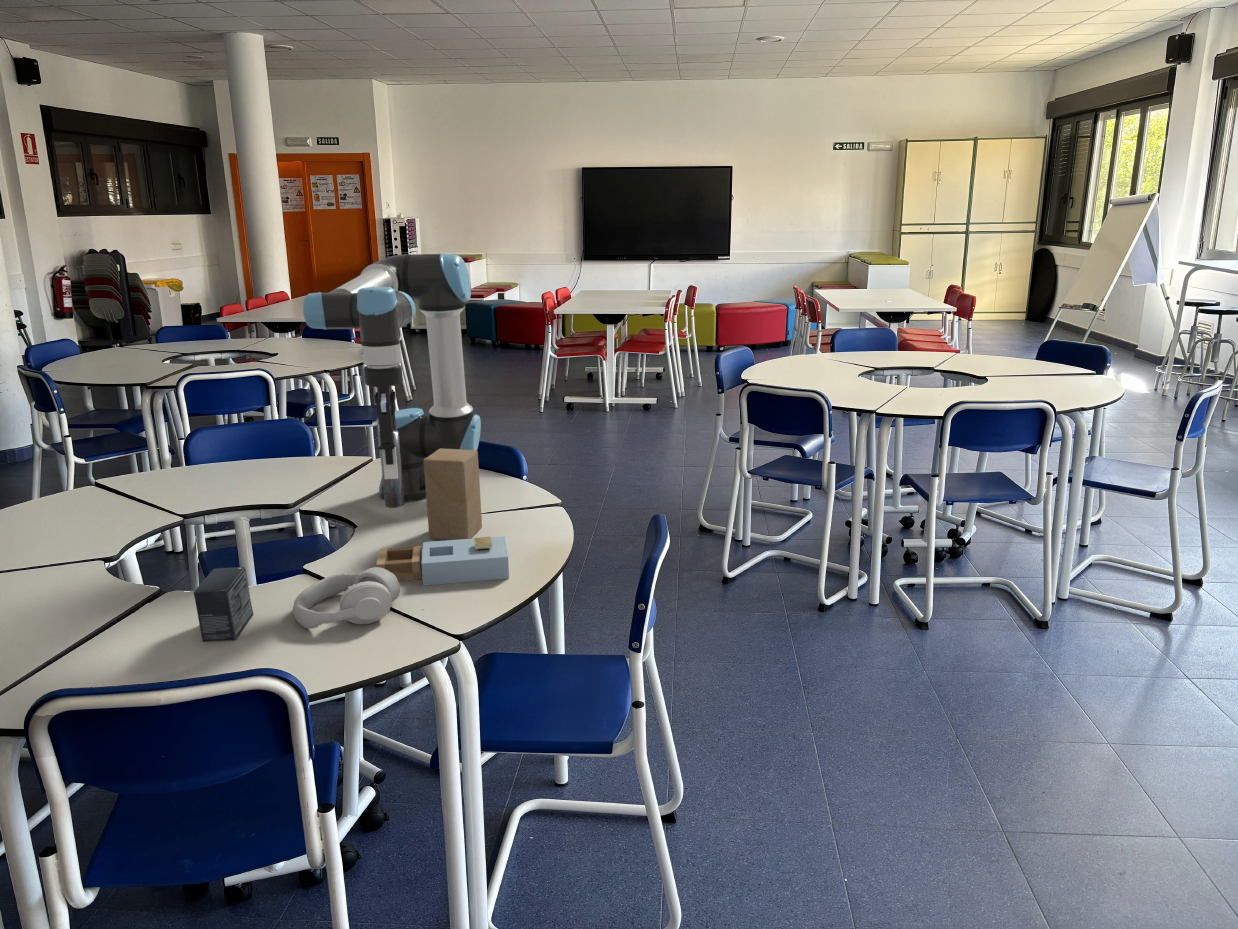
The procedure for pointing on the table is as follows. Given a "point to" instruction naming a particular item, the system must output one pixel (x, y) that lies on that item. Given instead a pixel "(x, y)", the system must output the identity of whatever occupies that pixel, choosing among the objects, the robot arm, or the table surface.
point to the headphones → (349, 598)
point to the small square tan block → (483, 543)
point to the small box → (223, 604)
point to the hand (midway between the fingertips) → (392, 474)
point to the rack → (402, 562)
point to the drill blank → (393, 486)
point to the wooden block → (453, 494)
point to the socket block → (463, 561)
